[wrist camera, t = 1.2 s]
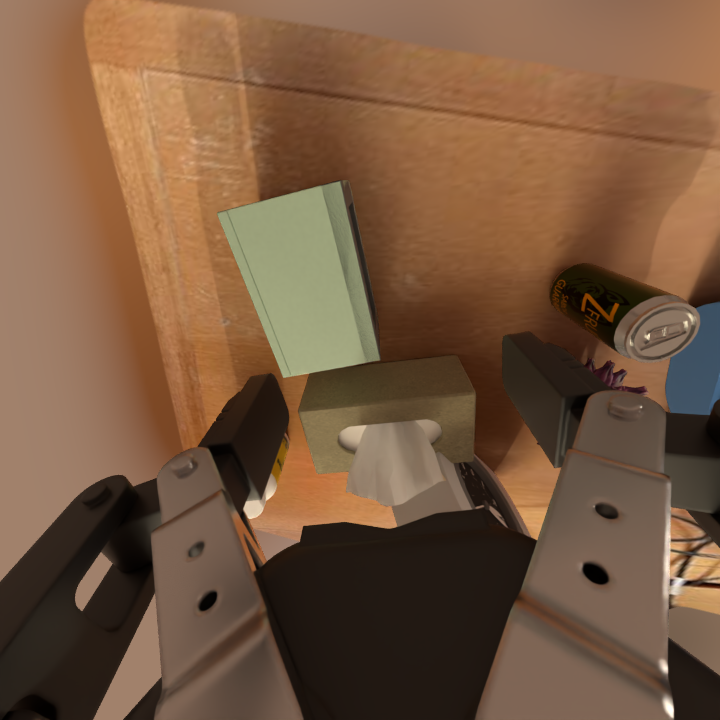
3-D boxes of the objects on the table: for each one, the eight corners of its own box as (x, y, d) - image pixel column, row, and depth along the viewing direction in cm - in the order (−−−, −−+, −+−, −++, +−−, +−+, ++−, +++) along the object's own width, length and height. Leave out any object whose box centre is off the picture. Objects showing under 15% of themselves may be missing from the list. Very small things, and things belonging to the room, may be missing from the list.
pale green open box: (259, 203, 31) (215, 212, 22) (349, 180, 30) (340, 179, 21) (303, 332, 38) (283, 378, 29) (378, 317, 36) (380, 360, 28)
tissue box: (322, 429, 45) (302, 539, 31) (307, 370, 40) (275, 470, 26) (459, 416, 43) (501, 527, 29) (459, 353, 38) (510, 450, 25)
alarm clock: (508, 486, 50) (584, 651, 33) (467, 506, 52) (518, 668, 35) (426, 407, 42) (471, 571, 25) (383, 435, 44) (396, 601, 27)
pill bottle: (284, 458, 48) (262, 528, 38) (243, 447, 47) (211, 515, 37) (295, 429, 45) (275, 497, 35) (252, 416, 44) (219, 482, 34)
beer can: (599, 253, 32) (708, 288, 22) (600, 301, 35) (699, 353, 24) (544, 272, 33) (623, 314, 23) (548, 317, 36) (622, 373, 25)
